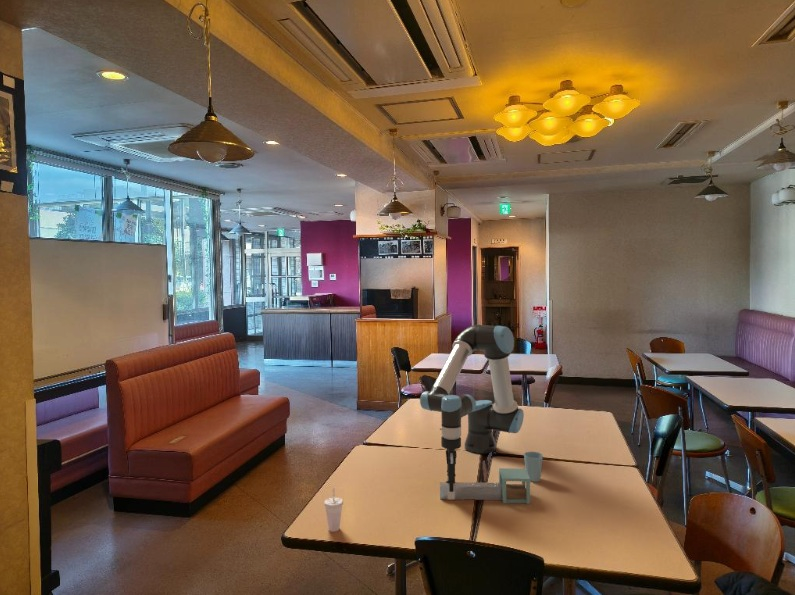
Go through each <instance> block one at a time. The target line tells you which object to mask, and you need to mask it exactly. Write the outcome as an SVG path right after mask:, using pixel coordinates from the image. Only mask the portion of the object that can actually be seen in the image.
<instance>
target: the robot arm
mask: <svg viewBox="0 0 795 595" xmlns="http://www.w3.org/2000/svg"><path fill="white" fill-rule="evenodd" d="M451 346H452V350H451V351H450V353H449V355H448V357H447V359H446V361H445V362H444V364H443V366H442V368H441V371H439V372H440V373H439V374H438V376H437V378H436V380H435V381H434V384H433V385H432V387H431V388H430V390H429V391H428V390H427V391H426V390H425V391H423V392H422V393H421V395H420V398H419V403H420V406H421V408H422V409H424V410H427V411H429V412H437V413H438V412H440V413H441V415H440V416H441V427H439V431H441V437H440V438H441V447H442V448H444V449H445V455H446V456H445V458H446V460H445V461H446V464H447V466H446V467H447V468H446V472H447V474H446V476H447V477H446V481H445V482H446V483H448V499H447V500H456V499H455V482H456V475H457V474H456V464H457V450H458V449H460V448H461V446H462V437H461V436H462V418H463V417H465V416H467V435H466V438H465V440H464V441H465V442H464V450H466V451H467V450H468V451H467V452H470V451H471V452H470V453H473V452H476V453H475V454H491V453H494V452H495V451H496V450H497V445H496V439H495V437H494V435H493V431H497V432H504V433H508V434H517V433H519V431H520V430H521V429H522V425H523V422H524V416H525V412H524V410H523V409H522V408H519V406H518V402H517V401H516V400H514V394H513V393H514V392H513V385H512V380H511V372H510V364H509V359H508V358H509V357H510V355H511V353H512V352H513V350H514V347H515V340H514V334H513V332H512V331H511V329H510V328H509V327H508V326H503V325H488V324H487V325H486V324H485V325H484V324H474V325H470V326H468V327H466V328H465V329H464V330H462V331H461V332H460V333H459V334H458V335H457V336H456V338H455V339H454V341H453V343H452V345H451ZM474 351H475V352H476V351H478V352H483V354H484V357H485V358H486V359H487V360H488V364H489V371H490V376H491V377H490V378H491V384H492V389H493V390H492V391H493V398H494V402H493V401H492V400H489V399H479V400H475V398H474V397H473V396H472V395H470V394H467V393H466V394H462V395H455V394H450V393H451V391H452V389H453V387H454V385H455V383H456V381H457V378H458V376H459V375H460V373H461V372H462V369H463V367H464V365H465V363H466V361H467V359H468V357H471V356H472V355H473V352H474Z"/></svg>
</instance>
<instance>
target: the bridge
mask: <svg viewBox="0 0 795 595" xmlns="http://www.w3.org/2000/svg"><path fill="white" fill-rule="evenodd" d="M507 482H521V484H524V485H525V488H526V499H506V484H507ZM498 483H502V500H501V502H502V504H527V505H529V504H531V481H530V478H529V476H528V474H527V472H526V469H525V468H511V467H510V468H504V467H503V468H498Z"/></svg>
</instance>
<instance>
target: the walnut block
mask: <svg viewBox="0 0 795 595" xmlns="http://www.w3.org/2000/svg"><path fill="white" fill-rule="evenodd" d="M506 499H526V484H525V485H524V484H522V483H506Z"/></svg>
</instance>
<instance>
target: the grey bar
mask: <svg viewBox="0 0 795 595" xmlns="http://www.w3.org/2000/svg"><path fill="white" fill-rule="evenodd" d="M439 499H440V500H449V499H448V483H446V481H441V482H439ZM464 499H475V500H476V501H479V500H480V501H502V483H499V482H468V481H467V482H465V481H463V482H458V481H457V482H456V481H455V500H461V501H462V500H464Z"/></svg>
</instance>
